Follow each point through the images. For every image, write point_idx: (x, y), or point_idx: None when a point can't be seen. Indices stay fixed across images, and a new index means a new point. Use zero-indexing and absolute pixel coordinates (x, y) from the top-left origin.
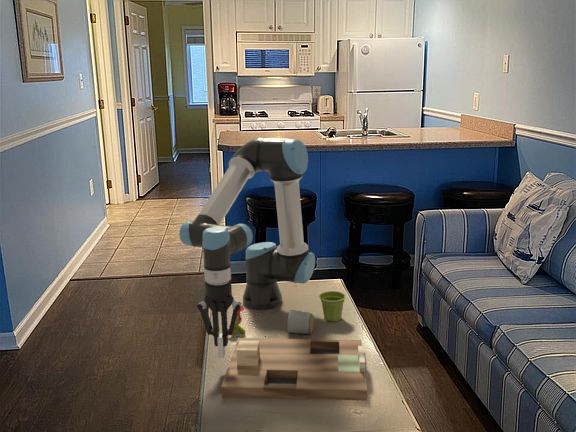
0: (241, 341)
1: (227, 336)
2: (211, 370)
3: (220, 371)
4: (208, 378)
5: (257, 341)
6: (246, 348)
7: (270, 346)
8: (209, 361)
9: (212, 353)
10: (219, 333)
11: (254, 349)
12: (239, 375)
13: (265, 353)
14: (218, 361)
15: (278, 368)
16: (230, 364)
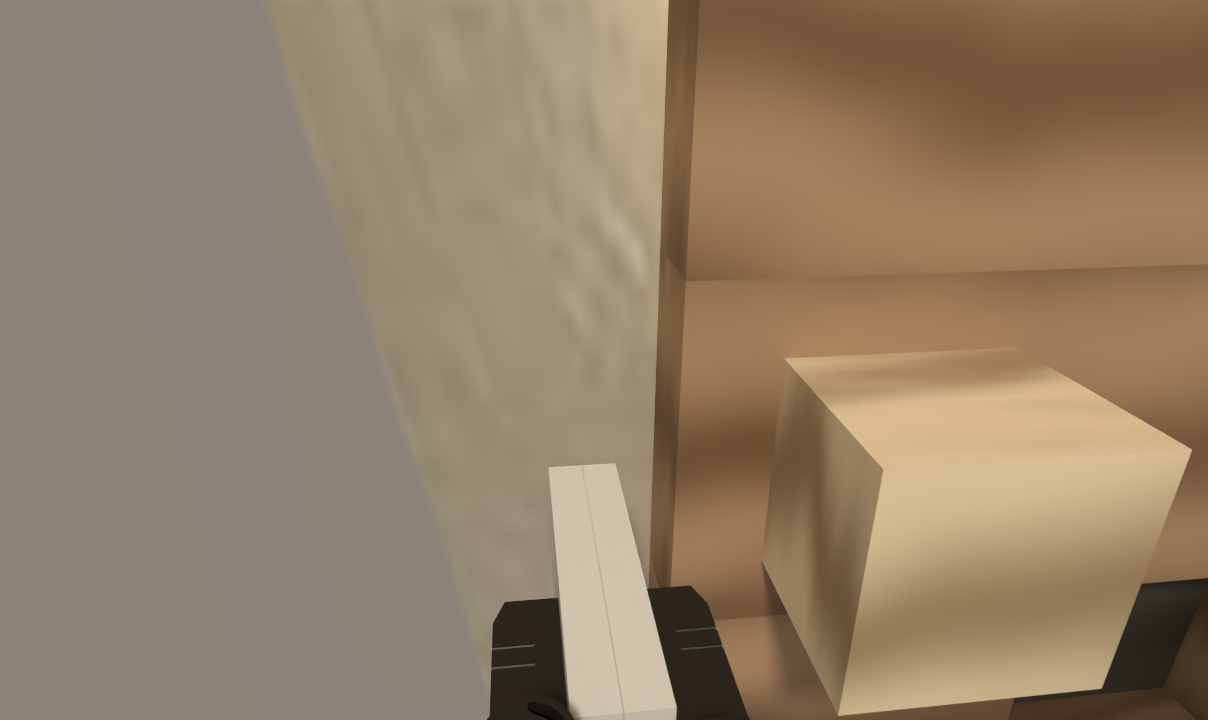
0: (912, 496)
1: (741, 713)
2: (458, 451)
3: (556, 459)
4: (471, 576)
5: (1158, 472)
6: (974, 663)
7: (1190, 85)
8: (373, 275)
9: (340, 60)
10: (577, 716)
11: (1075, 672)
12: (795, 700)
13: (1089, 286)
14: (483, 267)
15: (1156, 558)
16: (689, 548)
